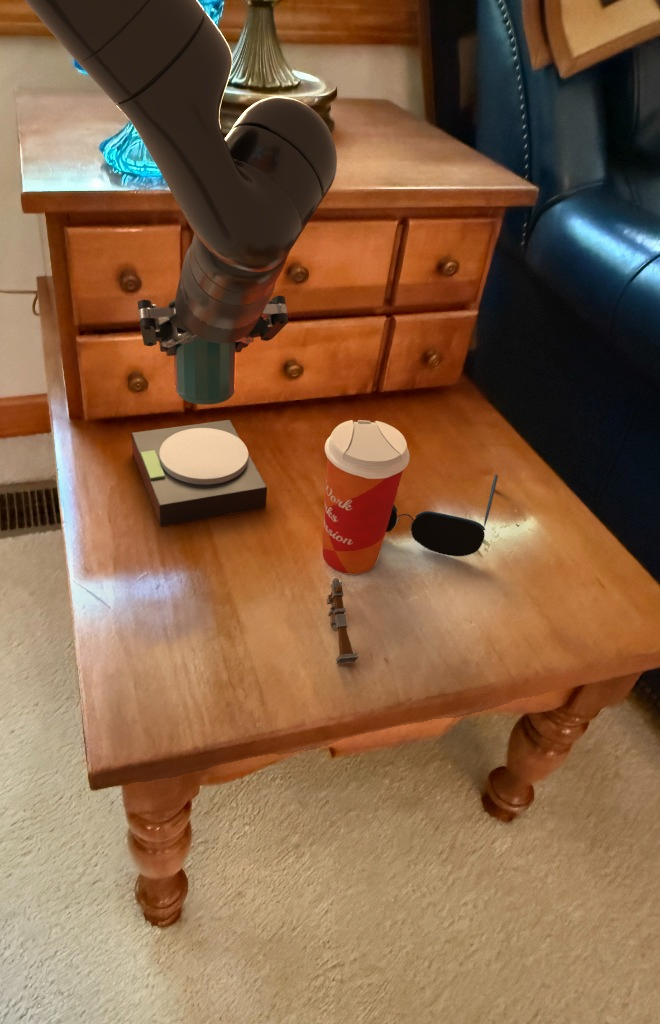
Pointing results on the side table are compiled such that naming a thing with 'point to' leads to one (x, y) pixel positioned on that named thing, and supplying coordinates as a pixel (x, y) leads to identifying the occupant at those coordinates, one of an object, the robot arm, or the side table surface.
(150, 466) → the scale
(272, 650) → the side table surface
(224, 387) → the teal open tube
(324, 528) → the coffee cup
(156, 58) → the robot arm
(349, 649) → the wooden post with brackets
